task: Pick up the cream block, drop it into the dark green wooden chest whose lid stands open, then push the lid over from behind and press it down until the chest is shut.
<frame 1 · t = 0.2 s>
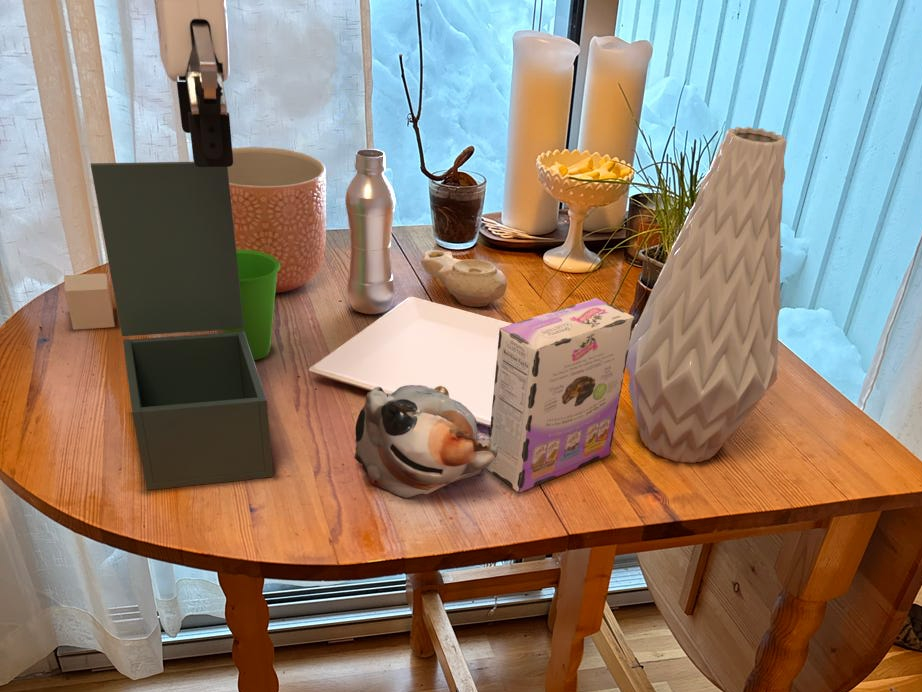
hand: (207, 148, 83), 30 cm above the table, tool pointing down, fingers open, 9 cm apart
silver metal bottle: (370, 311, 131), on the table
lucky cat figurine: (426, 478, 101), on the table
plate: (452, 371, 120), on the table
lid: (171, 246, 98), point 17 cm above the table, hinge at 95.0°
block: (93, 320, 122), on the table
chest: (202, 444, 102), on the table
vase: (680, 444, 111), on the table
planter: (269, 281, 136), on the table
cup: (249, 353, 119), on the table
candy box: (548, 464, 105), on the table
oil lamp: (460, 296, 137), on the table
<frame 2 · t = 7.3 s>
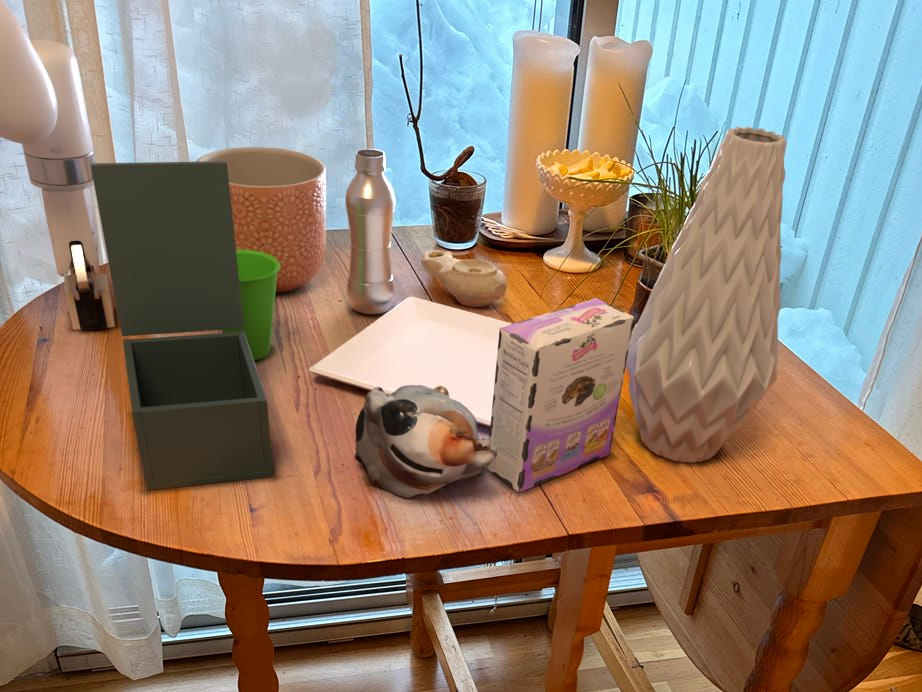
hand: (92, 317, 122), 0 cm above the table, tool pointing down, fingers closed on block, 5 cm apart
block: (93, 320, 122), on the table, touching gripper
everything else where it was.
when the fingers open (6 cm above the table, at t = 17.6 s): block drops 5 cm, resting on chest.
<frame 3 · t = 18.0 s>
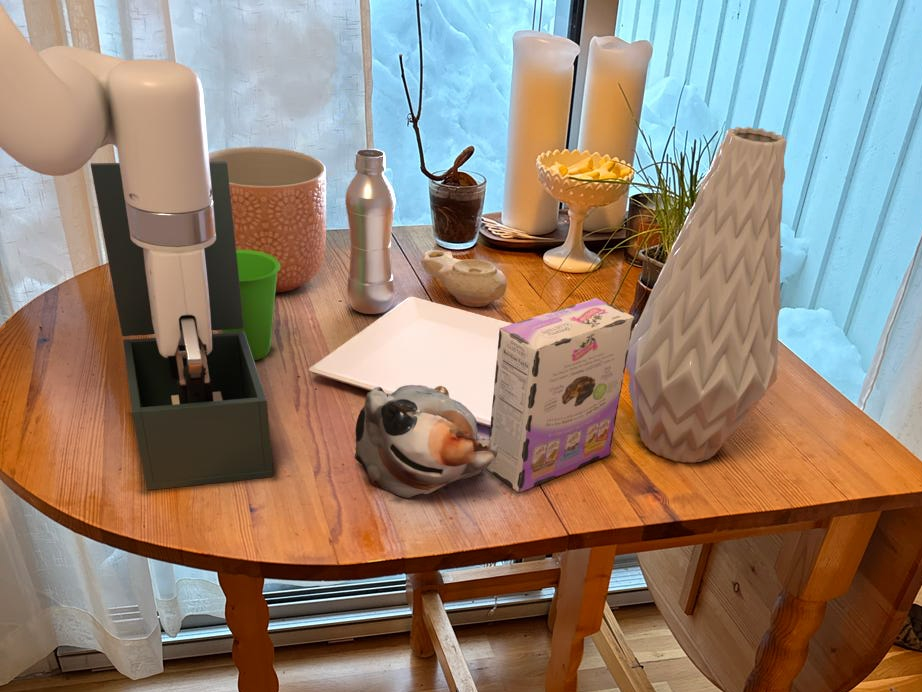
hand: (192, 396, 97), 6 cm above the table, tool pointing down, fingers open, 8 cm apart
block: (204, 447, 101), point 1 cm above the table, touching chest
everything else where it was.
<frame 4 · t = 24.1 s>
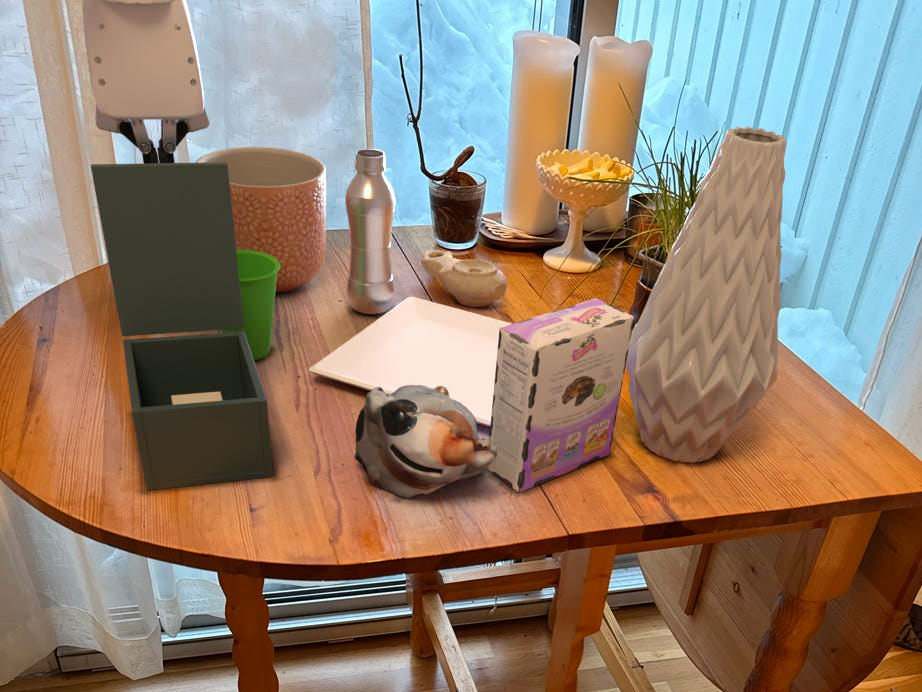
hand: (163, 191, 98), 21 cm above the table, tool pointing down, fingers closed
lid: (171, 246, 98), point 17 cm above the table, hinge at 93.3°, touching gripper
everything else where it was.
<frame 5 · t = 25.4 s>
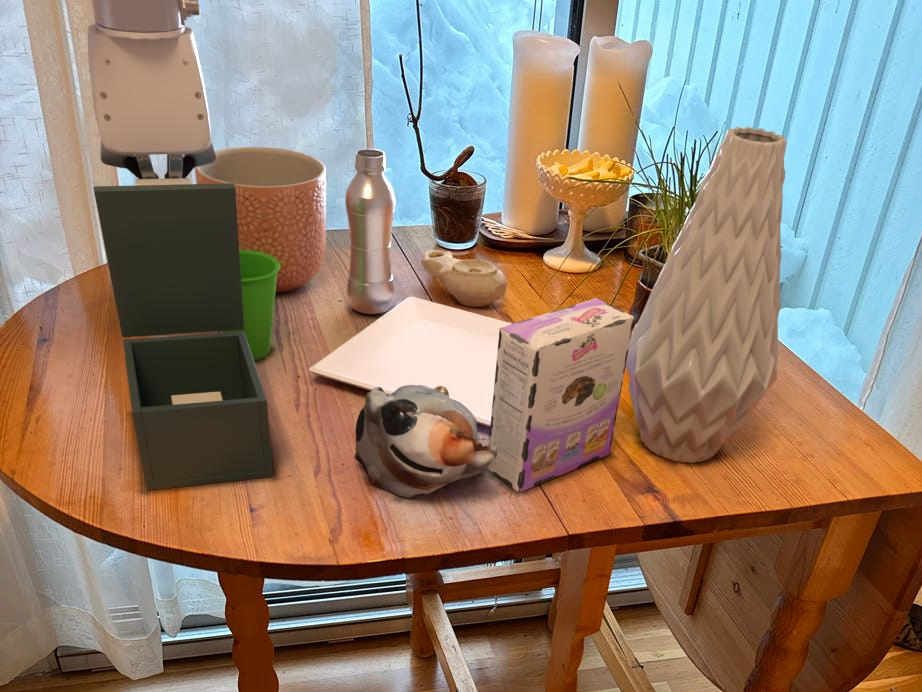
hand: (168, 225, 96), 20 cm above the table, tool pointing down, fingers closed
lid: (173, 252, 96), point 18 cm above the table, hinge at 75.4°, touching gripper
everything else where it was.
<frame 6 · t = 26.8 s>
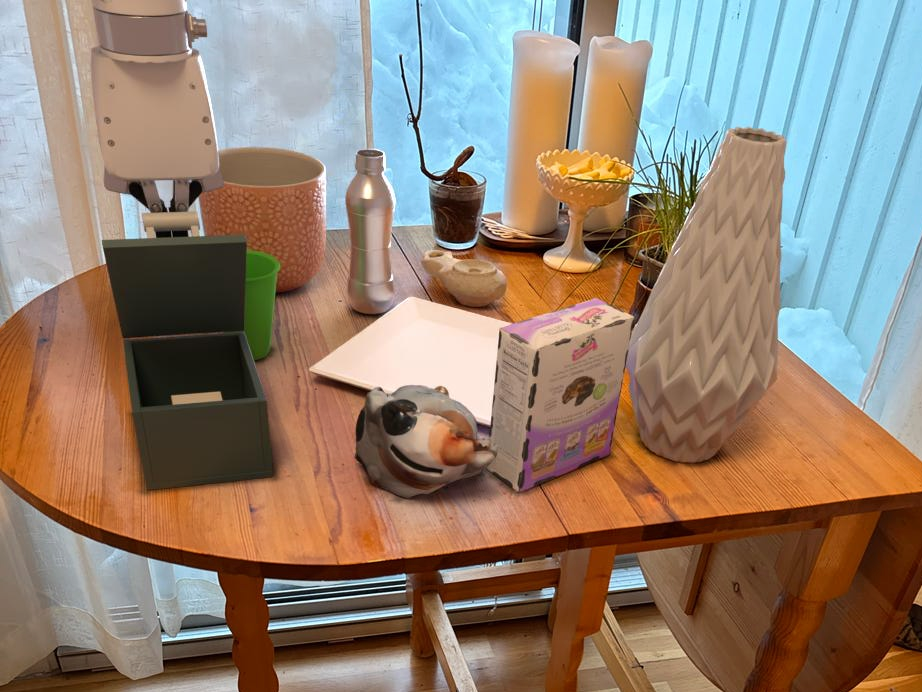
hand: (174, 252, 93), 19 cm above the table, tool pointing down, fingers closed
lid: (177, 272, 94), point 17 cm above the table, hinge at 52.8°, touching gripper
everything else where it was.
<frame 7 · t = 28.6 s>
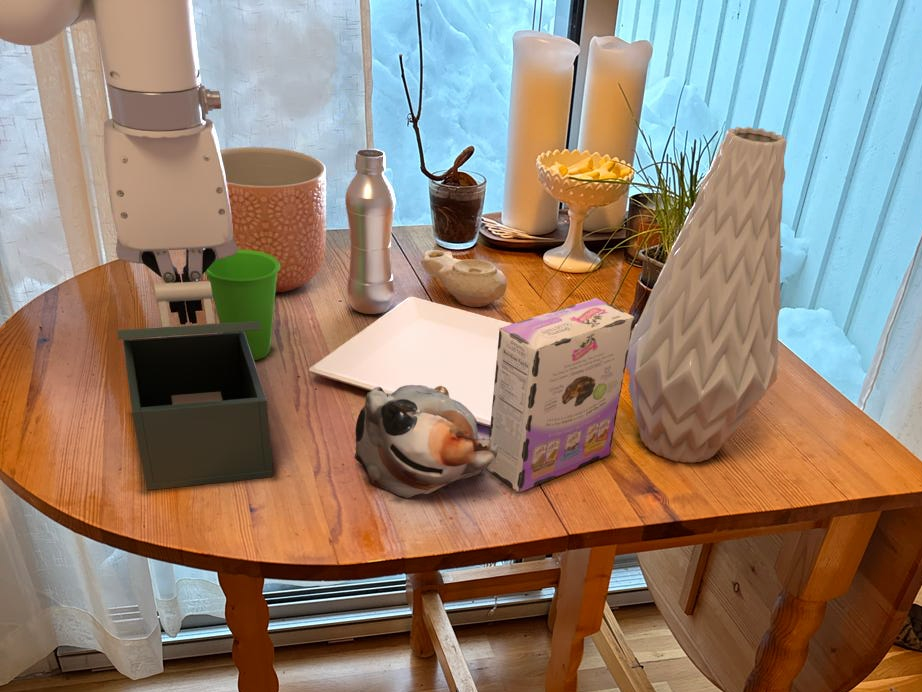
hand: (187, 318, 92), 15 cm above the table, tool pointing down, fingers closed
lid: (183, 310, 94), point 14 cm above the table, hinge at 24.7°
everything else where it was.
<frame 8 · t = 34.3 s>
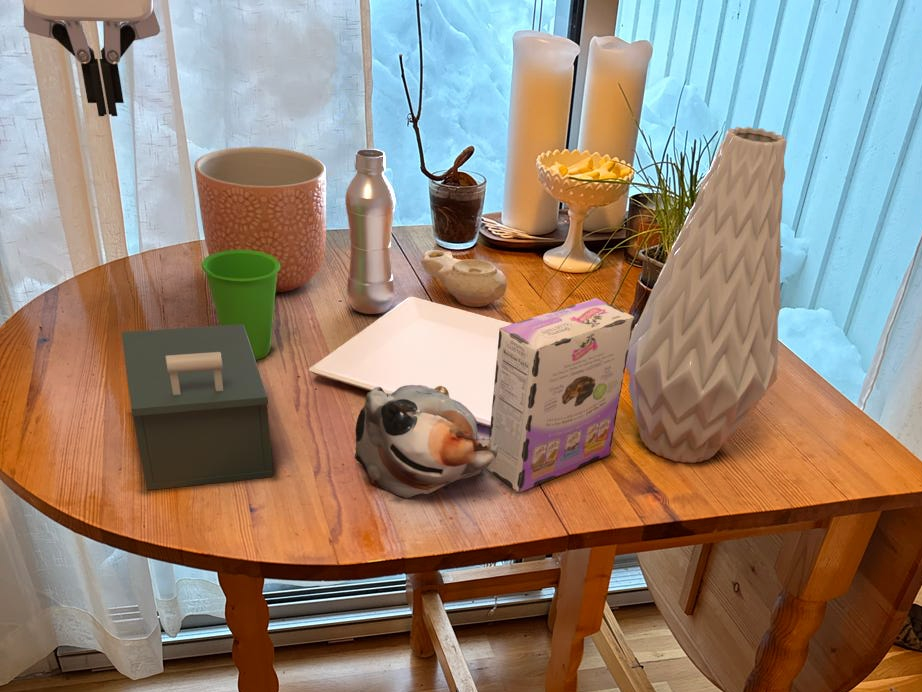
hand: (107, 111, 84), 31 cm above the table, tool pointing down, fingers closed
lid: (189, 349, 95), point 11 cm above the table, hinge at -0.2°, touching chest
everything else where it was.
at the end: block inside the target area in the chest (2.0 cm from its centre), point 0.8 cm above the chest's base; lid at +0° (first picture: +95°) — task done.
